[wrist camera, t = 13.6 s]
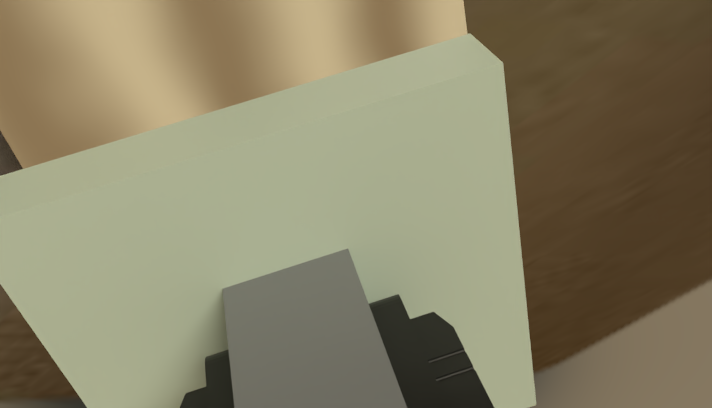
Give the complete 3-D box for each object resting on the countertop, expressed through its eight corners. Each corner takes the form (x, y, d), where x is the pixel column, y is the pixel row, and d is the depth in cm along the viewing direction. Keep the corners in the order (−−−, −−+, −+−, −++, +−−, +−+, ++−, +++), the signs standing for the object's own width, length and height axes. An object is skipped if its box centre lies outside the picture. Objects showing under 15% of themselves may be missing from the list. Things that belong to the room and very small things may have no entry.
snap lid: (469, 33, 12) (640, 185, 8) (510, 360, 18) (628, 565, 13) (-17, 180, 12) (-131, 436, 7) (172, 474, 17) (174, 731, 12)
